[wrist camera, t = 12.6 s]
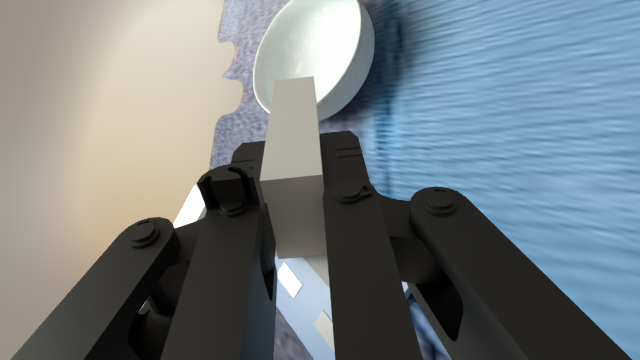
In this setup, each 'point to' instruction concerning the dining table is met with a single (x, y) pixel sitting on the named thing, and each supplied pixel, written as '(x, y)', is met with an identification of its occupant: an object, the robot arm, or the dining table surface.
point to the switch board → (309, 302)
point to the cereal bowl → (317, 51)
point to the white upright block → (193, 209)
